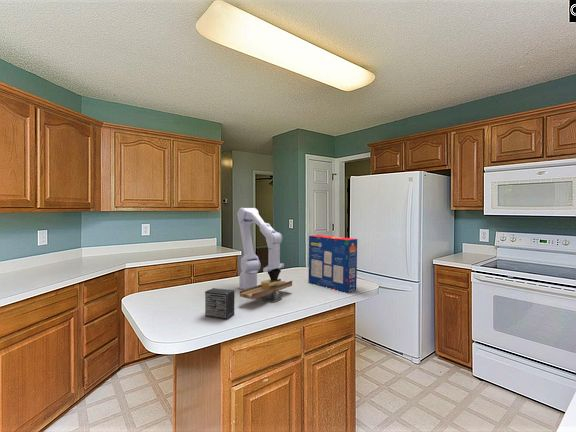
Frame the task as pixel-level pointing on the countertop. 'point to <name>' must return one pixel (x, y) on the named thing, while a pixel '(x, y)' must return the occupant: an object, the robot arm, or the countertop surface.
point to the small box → (219, 303)
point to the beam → (263, 290)
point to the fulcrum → (271, 297)
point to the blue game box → (333, 262)
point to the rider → (268, 284)
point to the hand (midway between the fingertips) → (273, 284)
